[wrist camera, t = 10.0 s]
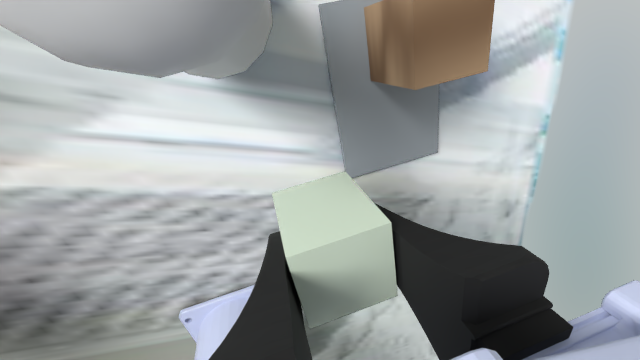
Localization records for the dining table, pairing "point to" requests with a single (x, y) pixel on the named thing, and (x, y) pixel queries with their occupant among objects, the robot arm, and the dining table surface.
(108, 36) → the salt shaker
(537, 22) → the dining table surface
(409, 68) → the walnut block
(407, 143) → the slate mat
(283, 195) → the sage block
